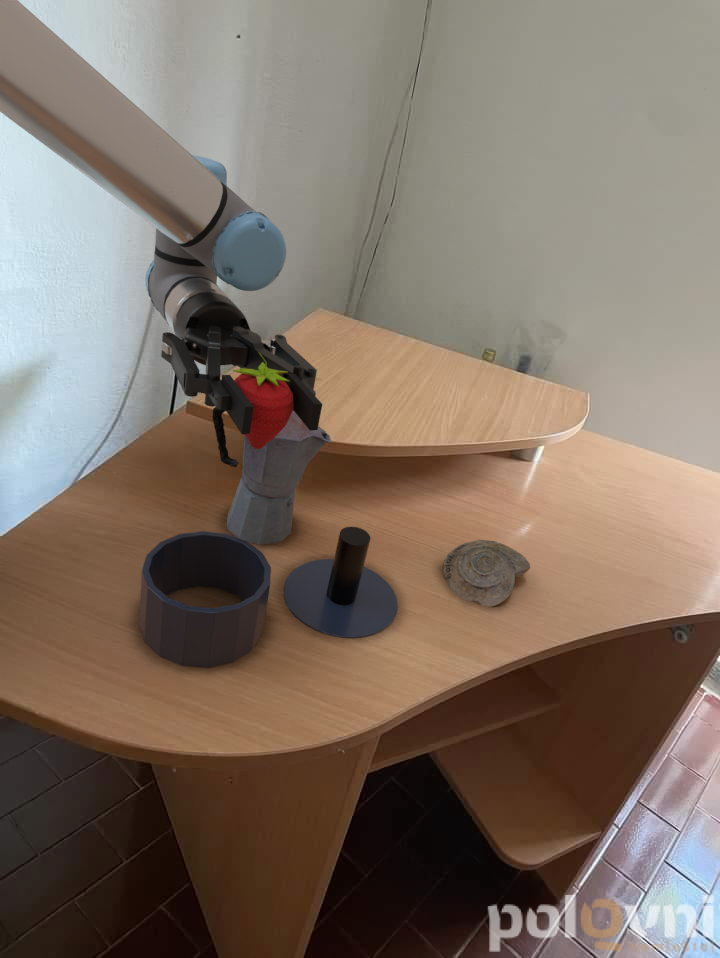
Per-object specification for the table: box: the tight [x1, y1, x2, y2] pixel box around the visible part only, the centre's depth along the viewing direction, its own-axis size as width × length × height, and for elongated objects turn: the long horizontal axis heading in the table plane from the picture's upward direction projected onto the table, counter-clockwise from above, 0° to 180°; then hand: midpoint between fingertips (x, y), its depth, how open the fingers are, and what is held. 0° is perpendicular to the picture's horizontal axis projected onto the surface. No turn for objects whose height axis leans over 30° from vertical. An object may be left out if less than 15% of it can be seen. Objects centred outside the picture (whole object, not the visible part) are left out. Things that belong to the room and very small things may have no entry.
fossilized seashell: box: [442, 539, 531, 608], centre depth 92 cm, size 11×11×7 cm
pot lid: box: [282, 526, 399, 639], centre depth 82 cm, size 14×14×10 cm
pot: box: [138, 530, 272, 669], centre depth 75 cm, size 13×13×8 cm
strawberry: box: [232, 353, 294, 449], centre depth 66 cm, size 6×8×10 cm
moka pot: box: [211, 406, 332, 546], centre depth 89 cm, size 10×15×20 cm, turn 81°
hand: (282, 418), depth 62 cm, fingers closed on strawberry, 6 cm apart
